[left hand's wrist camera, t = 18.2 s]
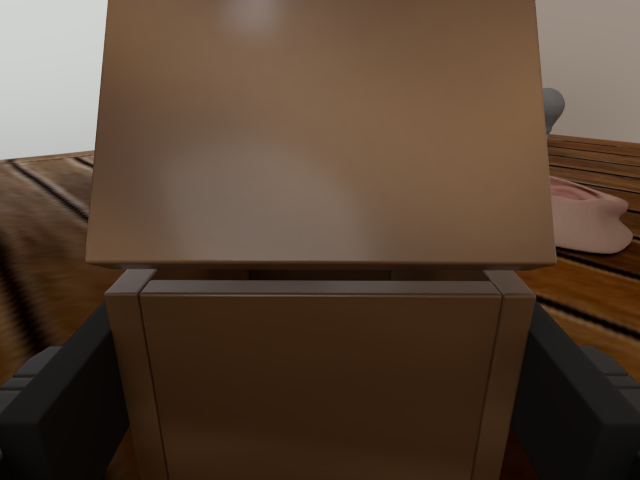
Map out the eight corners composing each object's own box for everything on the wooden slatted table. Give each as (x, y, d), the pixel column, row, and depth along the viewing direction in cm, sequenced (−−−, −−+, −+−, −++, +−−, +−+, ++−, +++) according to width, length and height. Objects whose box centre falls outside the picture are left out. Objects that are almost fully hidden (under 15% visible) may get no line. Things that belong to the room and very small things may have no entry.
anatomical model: (667, 209, 31) (493, 194, 35) (652, 261, 33) (486, 241, 37) (620, 171, 43) (494, 162, 47) (611, 210, 44) (488, 199, 48)
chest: (241, 309, 27) (230, 159, 23) (398, 309, 27) (410, 159, 23) (156, 568, 13) (102, 293, 10) (481, 569, 13) (538, 295, 10)
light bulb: (526, 150, 77) (536, 88, 73) (514, 144, 82) (523, 87, 79) (562, 150, 76) (574, 88, 73) (548, 144, 82) (558, 87, 78)
